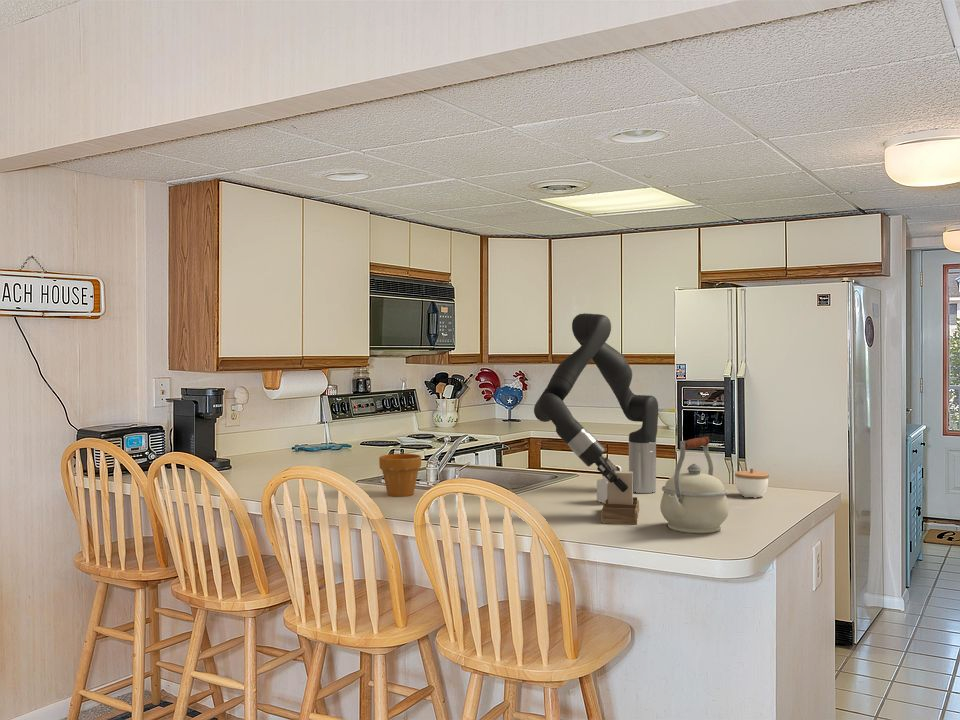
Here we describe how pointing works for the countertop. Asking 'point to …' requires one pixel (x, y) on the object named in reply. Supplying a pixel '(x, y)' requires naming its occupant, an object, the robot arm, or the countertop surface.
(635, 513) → the rack
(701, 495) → the kettle
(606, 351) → the robot arm
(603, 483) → the medicine bottle
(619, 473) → the tall beige block
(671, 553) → the countertop surface
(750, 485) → the lidded jar
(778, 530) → the countertop surface
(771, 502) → the countertop surface
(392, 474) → the flower pot
